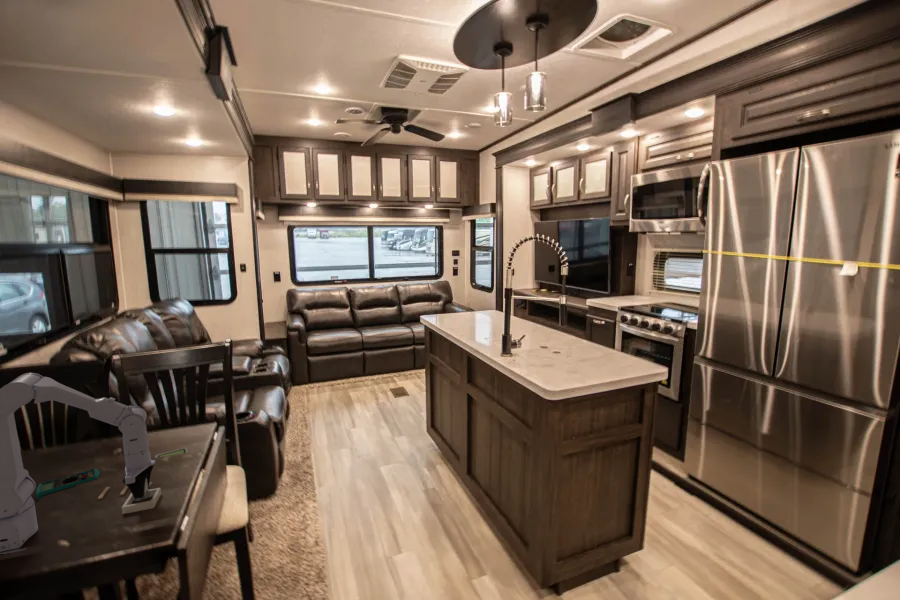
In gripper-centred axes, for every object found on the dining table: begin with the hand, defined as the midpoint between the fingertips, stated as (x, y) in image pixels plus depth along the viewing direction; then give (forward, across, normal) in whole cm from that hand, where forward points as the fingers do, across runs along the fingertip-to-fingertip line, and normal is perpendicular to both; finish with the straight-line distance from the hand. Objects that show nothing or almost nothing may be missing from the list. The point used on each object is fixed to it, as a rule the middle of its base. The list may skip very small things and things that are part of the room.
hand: (141, 493), depth 119 cm
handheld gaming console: (+5, +28, -1) cm, 29 cm away
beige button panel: (+5, +10, +6) cm, 13 cm away
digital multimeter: (+5, +22, +26) cm, 35 cm away
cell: (+1, 0, 0) cm, 1 cm away
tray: (+5, 0, 0) cm, 5 cm away
